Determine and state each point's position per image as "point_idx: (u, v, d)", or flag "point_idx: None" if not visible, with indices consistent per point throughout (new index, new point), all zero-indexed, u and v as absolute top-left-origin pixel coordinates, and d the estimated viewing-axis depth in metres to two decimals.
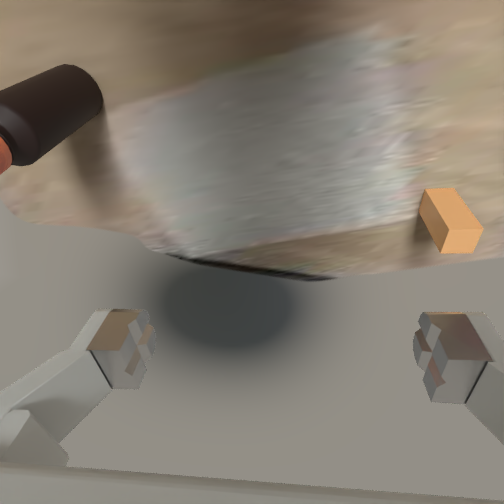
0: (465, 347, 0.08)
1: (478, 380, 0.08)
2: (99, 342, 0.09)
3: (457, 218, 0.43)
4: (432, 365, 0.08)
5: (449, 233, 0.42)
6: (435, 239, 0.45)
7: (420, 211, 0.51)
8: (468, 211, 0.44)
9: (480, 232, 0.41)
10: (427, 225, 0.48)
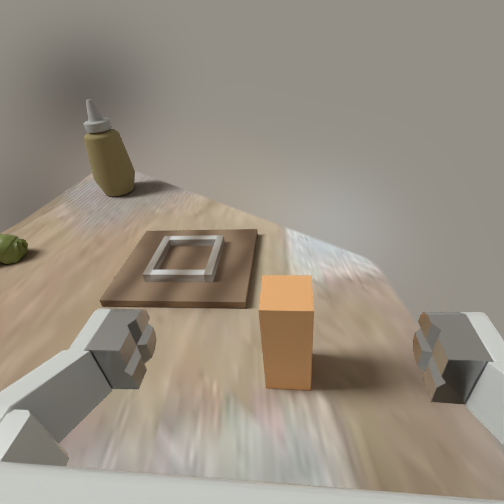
0: (465, 347, 0.08)
1: (478, 380, 0.08)
2: (99, 342, 0.09)
3: None
4: (432, 365, 0.08)
5: (267, 307, 0.24)
6: (306, 333, 0.25)
7: (305, 385, 0.29)
8: None
9: (269, 276, 0.27)
10: (307, 361, 0.27)
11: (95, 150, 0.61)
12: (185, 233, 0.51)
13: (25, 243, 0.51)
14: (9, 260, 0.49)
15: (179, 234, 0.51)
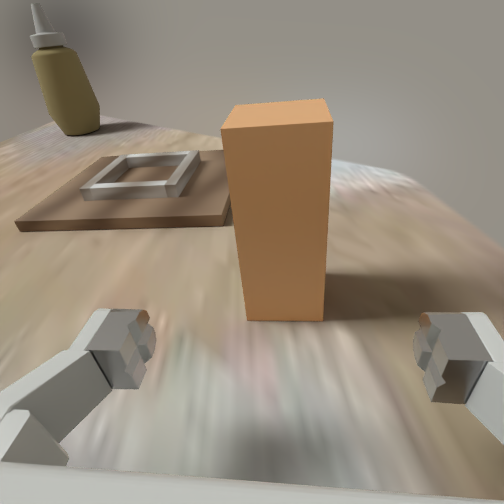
0: (465, 347, 0.08)
1: (478, 380, 0.08)
2: (99, 342, 0.09)
3: None
4: (432, 365, 0.08)
5: (239, 125, 0.12)
6: (317, 185, 0.13)
7: (314, 312, 0.17)
8: None
9: (246, 105, 0.15)
10: (318, 256, 0.15)
11: (45, 71, 0.49)
12: None
13: None
14: None
15: None
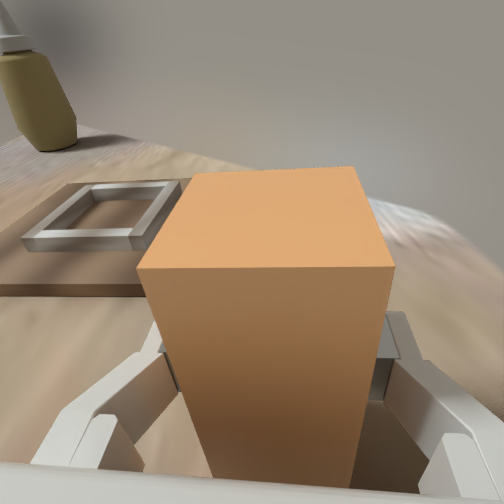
0: None
1: (389, 378, 0.08)
2: None
3: None
4: None
5: (180, 258, 0.05)
6: (348, 366, 0.06)
7: None
8: None
9: (214, 175, 0.08)
10: (342, 451, 0.08)
11: (10, 79, 0.43)
12: None
13: None
14: None
15: None
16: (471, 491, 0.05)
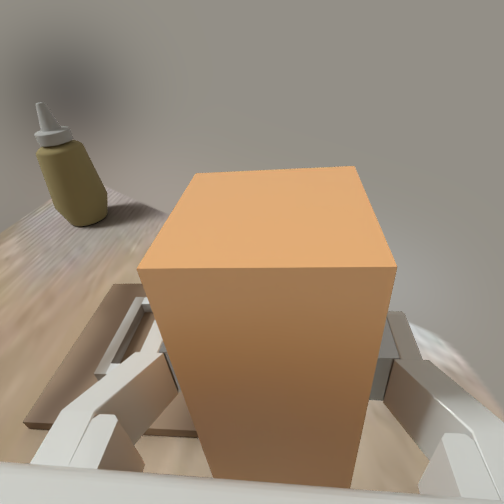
0: None
1: (390, 378, 0.08)
2: None
3: None
4: None
5: (180, 258, 0.05)
6: (349, 366, 0.06)
7: None
8: None
9: (215, 175, 0.08)
10: (343, 451, 0.08)
11: (51, 169, 0.46)
12: None
13: None
14: None
15: None
16: (471, 491, 0.05)
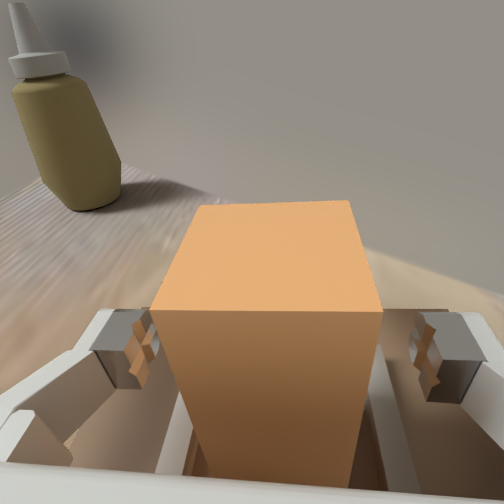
0: (460, 347, 0.08)
1: (472, 380, 0.08)
2: (103, 342, 0.09)
3: None
4: (427, 365, 0.08)
5: (189, 299, 0.06)
6: (342, 393, 0.07)
7: None
8: None
9: (218, 207, 0.09)
10: (338, 466, 0.09)
11: (35, 117, 0.29)
12: None
13: None
14: None
15: None
16: None
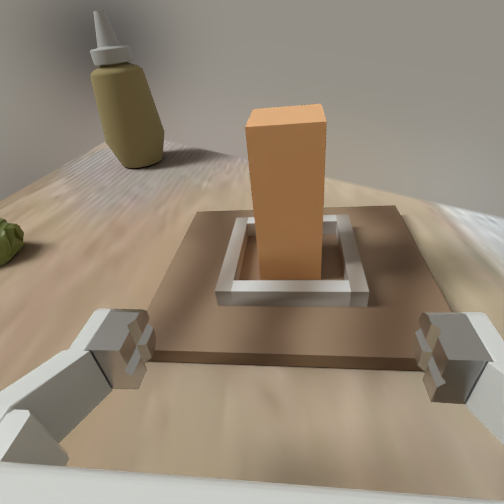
0: (465, 347, 0.08)
1: (478, 381, 0.08)
2: (99, 342, 0.09)
3: None
4: (432, 365, 0.08)
5: (258, 124, 0.16)
6: (315, 169, 0.17)
7: (314, 271, 0.21)
8: None
9: (262, 109, 0.19)
10: (316, 225, 0.19)
11: (109, 93, 0.40)
12: None
13: (19, 231, 0.30)
14: None
15: None
16: None
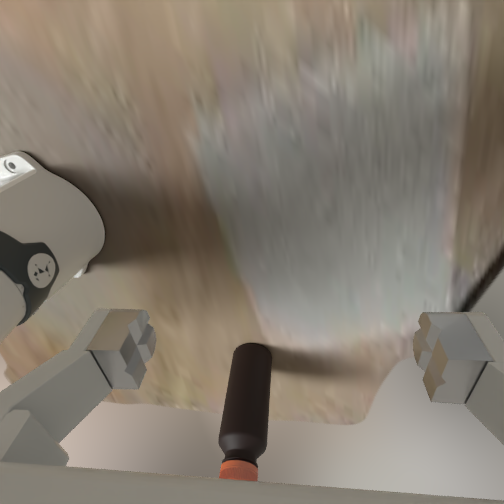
0: (465, 347, 0.08)
1: (478, 380, 0.08)
2: (99, 342, 0.09)
3: None
4: (432, 365, 0.08)
5: None
6: None
7: None
8: None
9: None
10: None
11: None
12: None
13: None
14: None
15: None
16: None
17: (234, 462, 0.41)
